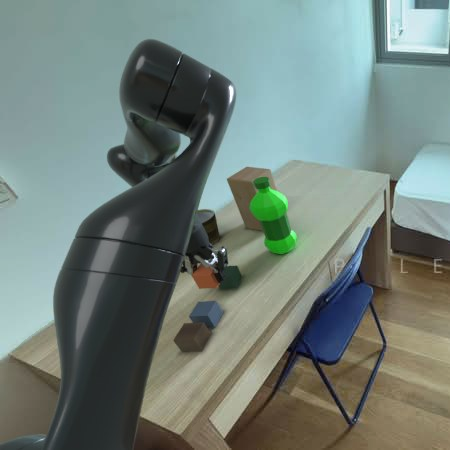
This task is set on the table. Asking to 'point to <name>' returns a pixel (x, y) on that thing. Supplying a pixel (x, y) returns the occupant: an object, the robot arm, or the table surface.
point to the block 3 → (192, 337)
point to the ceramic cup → (209, 224)
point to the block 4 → (231, 278)
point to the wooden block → (248, 192)
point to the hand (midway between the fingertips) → (211, 281)
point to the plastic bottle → (272, 217)
